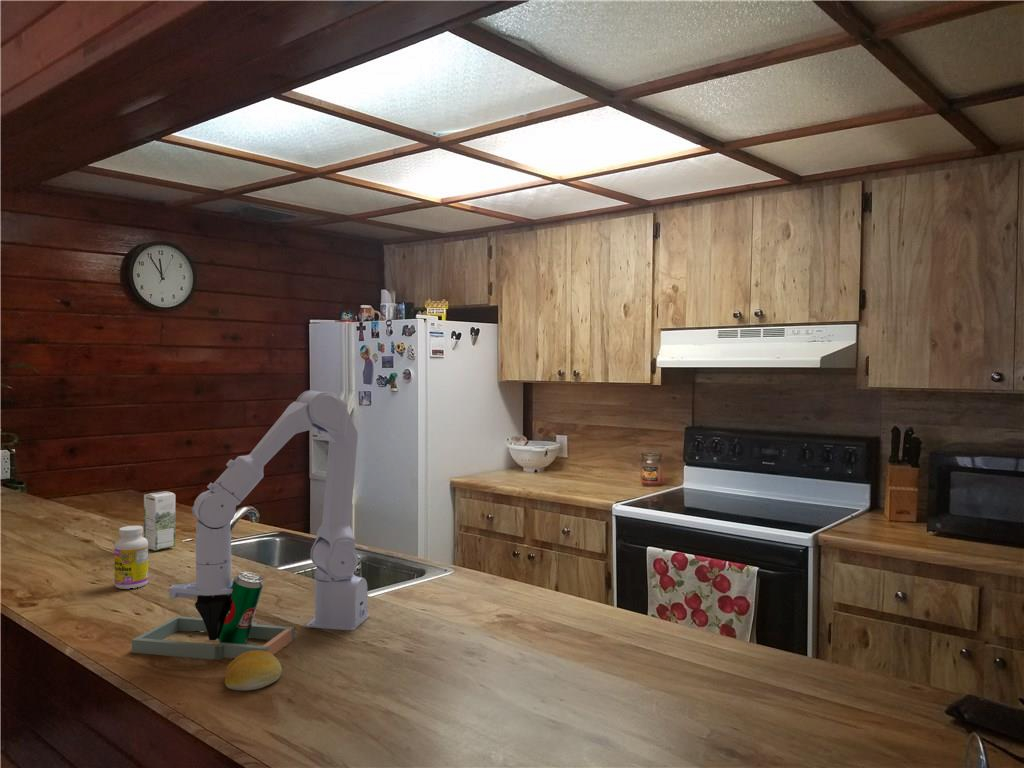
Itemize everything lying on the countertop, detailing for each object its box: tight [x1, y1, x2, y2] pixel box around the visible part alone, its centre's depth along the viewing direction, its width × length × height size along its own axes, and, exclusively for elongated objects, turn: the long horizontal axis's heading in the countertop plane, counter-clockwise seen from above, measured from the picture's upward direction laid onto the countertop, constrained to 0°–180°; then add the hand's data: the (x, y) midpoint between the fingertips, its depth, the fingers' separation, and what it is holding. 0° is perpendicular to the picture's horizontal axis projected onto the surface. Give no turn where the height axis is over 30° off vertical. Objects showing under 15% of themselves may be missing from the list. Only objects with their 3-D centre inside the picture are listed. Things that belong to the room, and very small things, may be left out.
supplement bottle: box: [113, 525, 149, 590], centre depth 164 cm, size 7×7×13 cm
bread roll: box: [224, 650, 283, 692], centre depth 114 cm, size 8×9×4 cm
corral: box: [131, 615, 295, 661], centre depth 129 cm, size 24×12×2 cm, turn 79°
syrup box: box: [143, 490, 177, 551], centre depth 197 cm, size 6×6×14 cm
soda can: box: [217, 571, 264, 644], centre depth 129 cm, size 5×5×12 cm
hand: (214, 638), depth 129 cm, fingers closed
